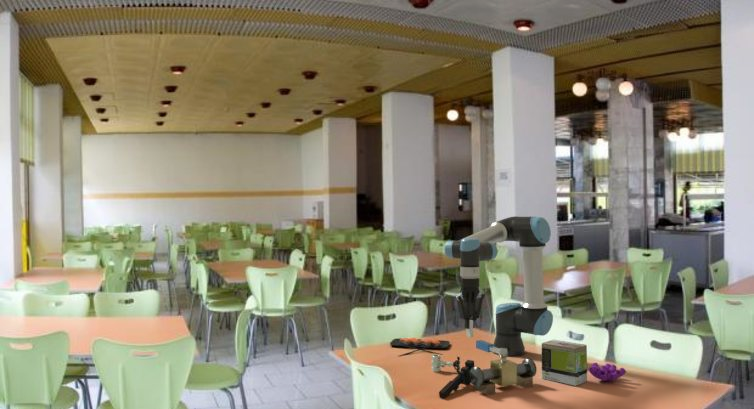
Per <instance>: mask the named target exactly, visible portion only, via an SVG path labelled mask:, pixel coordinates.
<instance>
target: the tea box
mask: <svg viewBox="0 0 754 409" xmlns="http://www.w3.org/2000/svg"><path fill="white" fill-rule="evenodd" d="M587 353H588V347H587V344H584V343H578V342H577V343H576V342H572V341H565V340H558V339H551V340H548V341H544V342H541V379H544V380H548V381H552V382H558V383H561V384H566V385H571V386H574V387H576V386H579V385H581V384H584V383H586V382H588V381H587V380H588V354H587Z"/></svg>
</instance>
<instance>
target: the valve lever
mask: <svg viewBox="0 0 754 409" xmlns="http://www.w3.org/2000/svg"><path fill="white" fill-rule="evenodd" d="M475 343H476V344H475V348H476V349H477V350H481V351H483V352H486V353H493V352H494V353H493V354H495V353H497V354H496V355H498V356H499V357H500V359H501V358H506V359H507V358H508V356H507V349H506V348H500V349H499V348H496V347H494V346H493V344H494V343H490V342H488V341H486V340H482V339H480V340H478V339H477V340H476V341H475Z"/></svg>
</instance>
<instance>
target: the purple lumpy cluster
mask: <svg viewBox="0 0 754 409" xmlns="http://www.w3.org/2000/svg"><path fill="white" fill-rule="evenodd" d="M588 371H589V373H590V375H592V376H593V377H594V378H596V379H598V380H601V381H603V382H613V381H616V380H618V379H620V378H622V377H623V376H624V375H625V374H626V373H627V370H626V368H624V367H621V368H619V369H617V365H615V364H611V363H605V365H601V367H600V365H599V364H598V362H593V363H592V364H591V366H590V367H588Z"/></svg>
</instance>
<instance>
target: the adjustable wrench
mask: <svg viewBox="0 0 754 409" xmlns="http://www.w3.org/2000/svg"><path fill="white" fill-rule="evenodd" d="M464 365H465V366H462V367H460V371H459V372H457V375H456V376H455V377H454V378H453V379H452V380H449V381H448V382H447V384H446V385H444V386H443V387H442V389H440V391H439V392H438V395H439V398H440V399H447V397H448V396H449V395H450V394H452V392H453V391H456V390H459V388H460V385H471V383H472V382H471V380H470V370H471V368H473V367H475V361H474V360H472V359H467V360H466V361H464Z"/></svg>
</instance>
